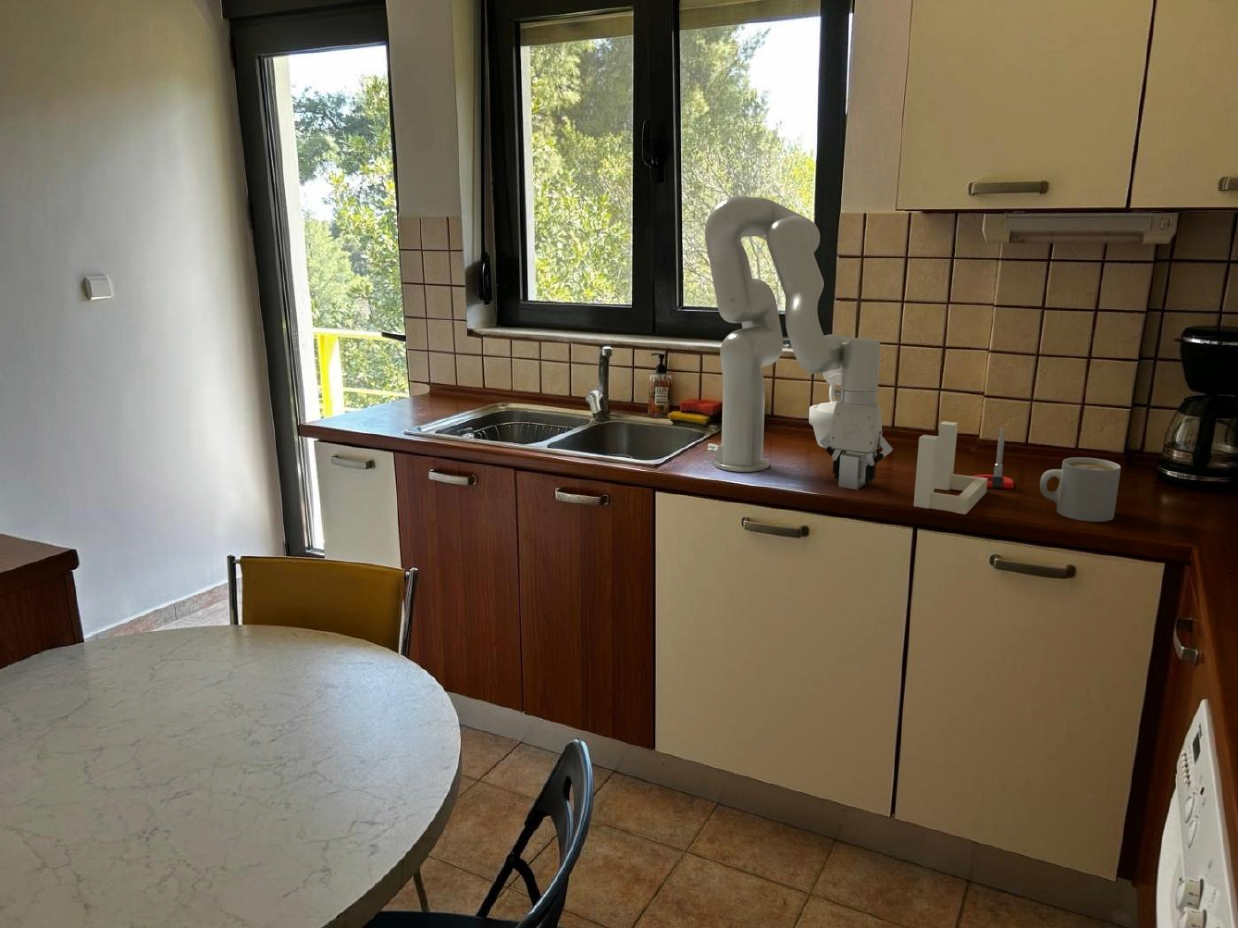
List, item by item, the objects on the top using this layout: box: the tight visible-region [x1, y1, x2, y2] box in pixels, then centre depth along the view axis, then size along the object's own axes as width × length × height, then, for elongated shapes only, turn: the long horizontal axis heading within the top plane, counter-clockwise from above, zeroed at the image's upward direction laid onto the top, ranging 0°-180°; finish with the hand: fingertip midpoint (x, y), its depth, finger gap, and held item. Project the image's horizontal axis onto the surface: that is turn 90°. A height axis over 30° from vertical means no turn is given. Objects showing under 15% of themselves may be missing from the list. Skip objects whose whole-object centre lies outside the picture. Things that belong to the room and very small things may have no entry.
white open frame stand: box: [913, 420, 989, 515], centre depth 185 cm, size 10×18×14 cm, turn 147°
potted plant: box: [808, 368, 842, 449], centre depth 227 cm, size 13×12×25 cm
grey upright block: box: [838, 451, 868, 490], centre depth 197 cm, size 4×7×7 cm, turn 147°
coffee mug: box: [1039, 456, 1122, 523], centre depth 177 cm, size 13×10×10 cm
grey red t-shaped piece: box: [971, 428, 1015, 490], centre depth 197 cm, size 8×13×9 cm
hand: (853, 479), depth 198 cm, fingers open, 6 cm apart
